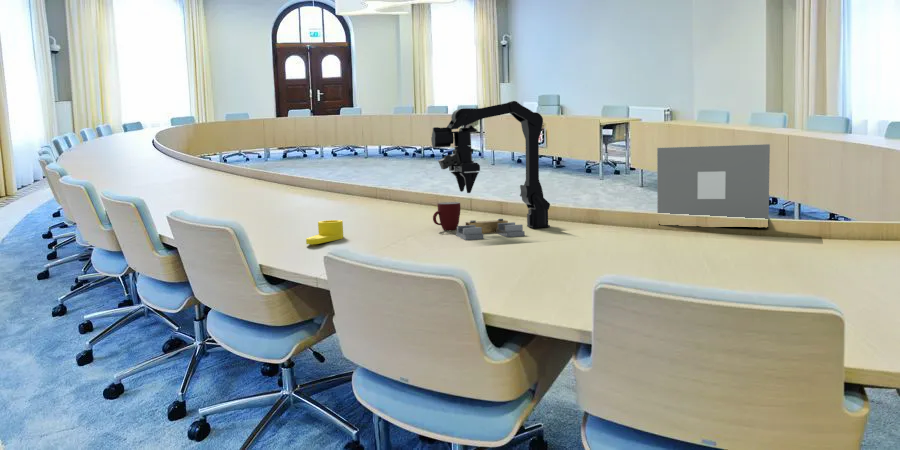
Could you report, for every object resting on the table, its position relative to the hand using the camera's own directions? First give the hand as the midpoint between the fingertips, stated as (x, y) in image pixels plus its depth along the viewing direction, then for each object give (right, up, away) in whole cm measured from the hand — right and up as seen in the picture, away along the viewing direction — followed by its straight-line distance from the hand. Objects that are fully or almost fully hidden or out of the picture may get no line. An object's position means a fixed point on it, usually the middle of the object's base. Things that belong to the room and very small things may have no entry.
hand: (465, 192), depth 236 cm
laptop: (+88, -11, +7) cm, 89 cm away
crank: (-48, -17, -1) cm, 51 cm away
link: (+8, -14, +3) cm, 16 cm away
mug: (-6, -14, +9) cm, 18 cm away
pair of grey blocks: (+8, -15, -7) cm, 18 cm away
